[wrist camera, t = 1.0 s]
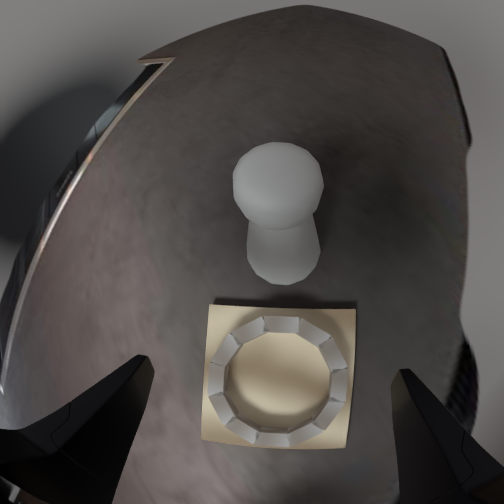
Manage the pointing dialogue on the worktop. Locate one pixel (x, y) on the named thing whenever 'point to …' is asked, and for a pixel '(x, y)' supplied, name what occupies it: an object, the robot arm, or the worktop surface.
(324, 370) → the ring stand
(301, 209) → the salt shaker
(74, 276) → the worktop surface
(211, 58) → the worktop surface
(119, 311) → the worktop surface
